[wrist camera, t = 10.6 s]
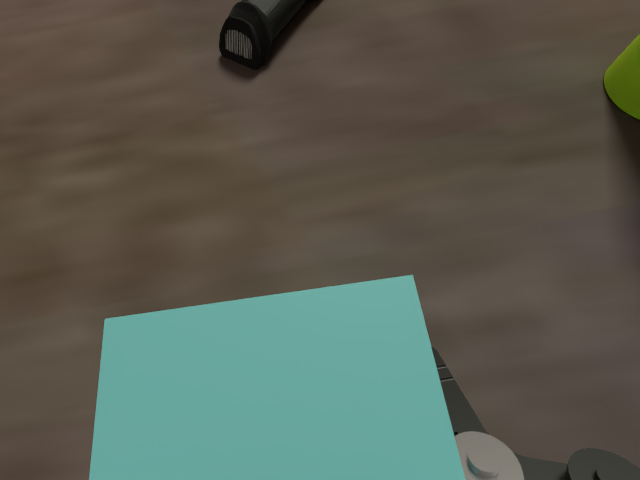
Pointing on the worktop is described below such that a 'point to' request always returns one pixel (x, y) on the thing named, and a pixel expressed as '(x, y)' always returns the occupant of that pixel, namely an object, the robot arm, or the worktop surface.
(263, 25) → the electric trimmer
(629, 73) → the soap dispenser
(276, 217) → the worktop surface
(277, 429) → the teal tower prism
